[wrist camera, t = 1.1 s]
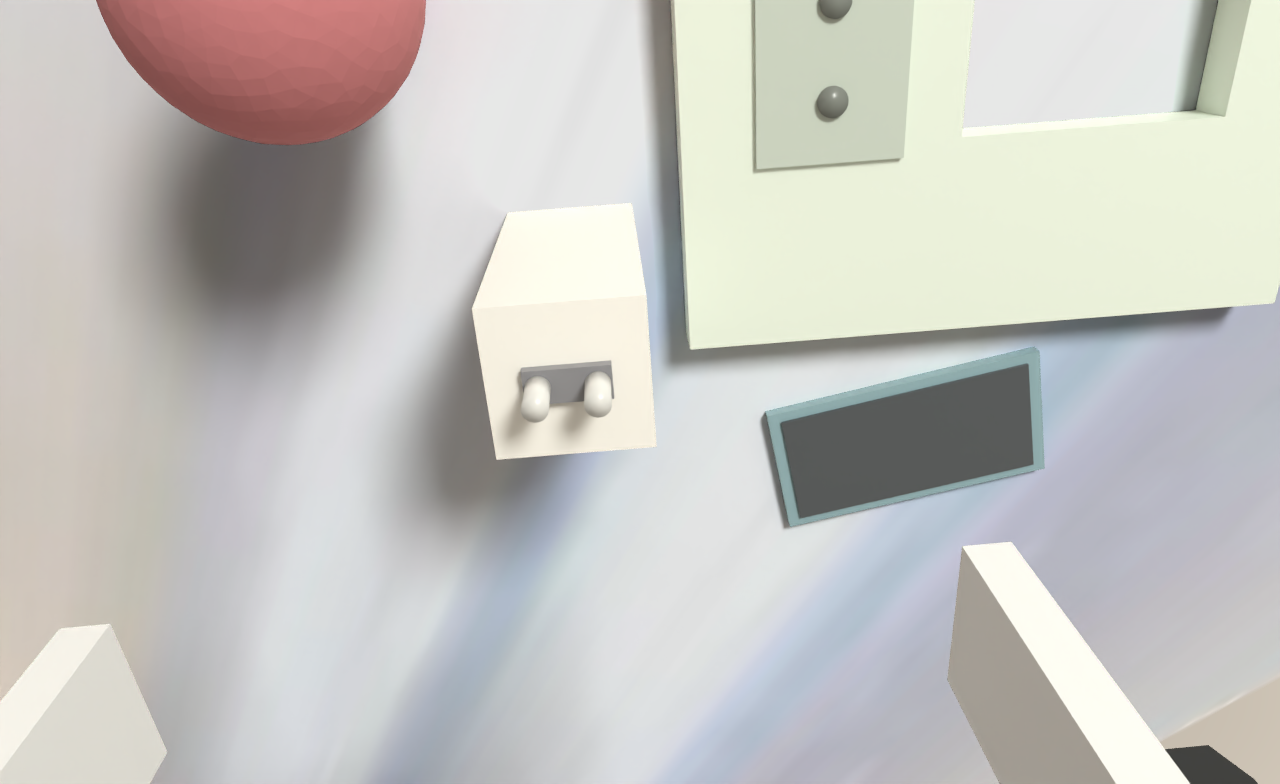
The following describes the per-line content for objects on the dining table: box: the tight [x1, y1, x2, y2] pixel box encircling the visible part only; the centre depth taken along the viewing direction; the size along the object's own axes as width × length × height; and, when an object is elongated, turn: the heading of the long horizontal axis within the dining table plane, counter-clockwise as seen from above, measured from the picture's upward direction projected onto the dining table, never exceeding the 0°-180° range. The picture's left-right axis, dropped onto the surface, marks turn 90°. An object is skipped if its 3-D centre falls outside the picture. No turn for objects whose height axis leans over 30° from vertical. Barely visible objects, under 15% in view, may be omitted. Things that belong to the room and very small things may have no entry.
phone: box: [765, 347, 1045, 527], centre depth 36 cm, size 11×6×1 cm, turn 104°
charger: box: [472, 203, 656, 460], centre depth 27 cm, size 4×4×12 cm
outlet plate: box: [671, 0, 1280, 350], centre depth 29 cm, size 22×16×2 cm
